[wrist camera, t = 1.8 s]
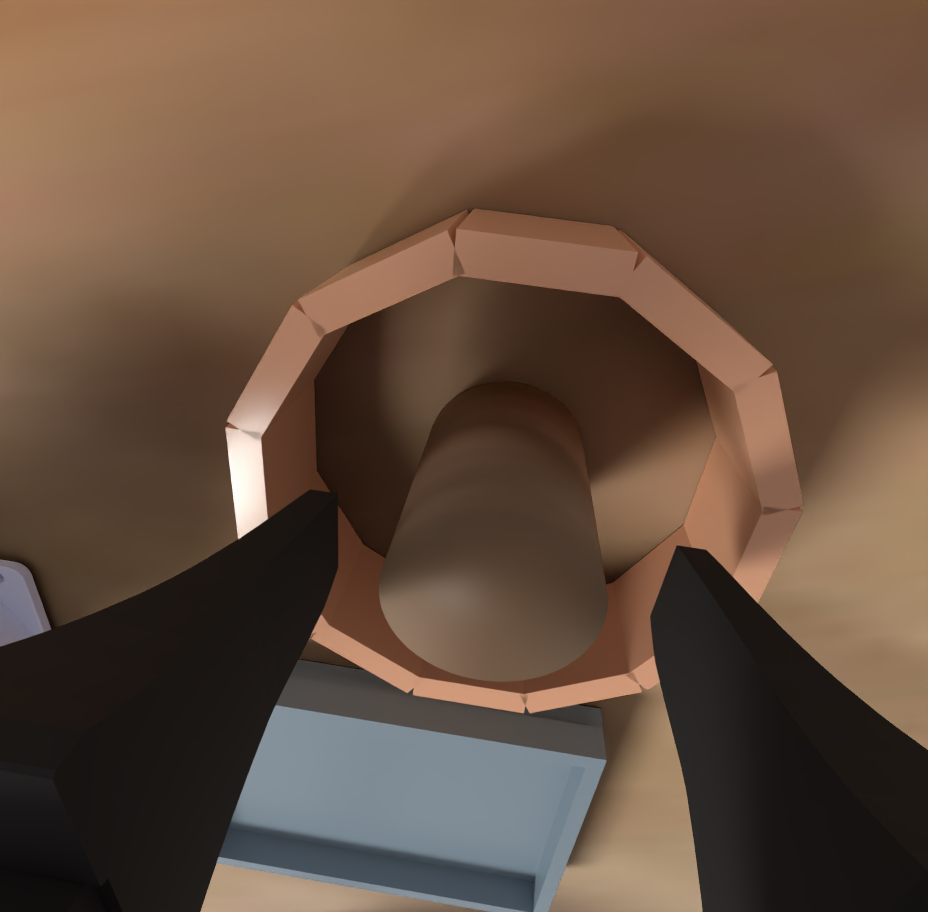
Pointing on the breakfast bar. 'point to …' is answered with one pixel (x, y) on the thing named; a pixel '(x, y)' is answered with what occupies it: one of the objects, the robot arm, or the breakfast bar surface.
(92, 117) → the breakfast bar surface
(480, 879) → the slate tray
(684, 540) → the terracotta ring
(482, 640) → the walnut cylinder
